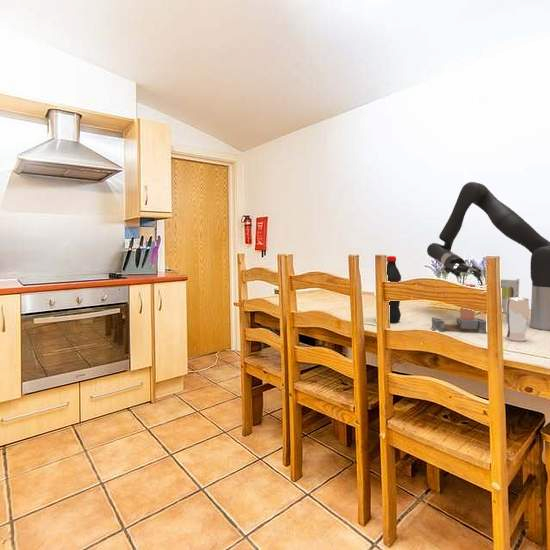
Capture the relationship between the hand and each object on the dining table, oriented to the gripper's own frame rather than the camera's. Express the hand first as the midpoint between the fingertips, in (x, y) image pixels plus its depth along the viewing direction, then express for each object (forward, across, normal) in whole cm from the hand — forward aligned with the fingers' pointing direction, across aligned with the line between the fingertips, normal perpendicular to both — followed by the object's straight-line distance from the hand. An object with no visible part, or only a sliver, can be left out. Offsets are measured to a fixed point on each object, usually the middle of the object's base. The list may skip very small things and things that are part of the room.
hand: (469, 275), depth 149 cm
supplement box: (-22, +36, +26) cm, 49 cm away
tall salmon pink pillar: (+13, -2, +18) cm, 22 cm away
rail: (+13, -5, +19) cm, 24 cm away
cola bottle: (-4, -27, +27) cm, 38 cm away
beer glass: (+26, +9, +14) cm, 31 cm away
